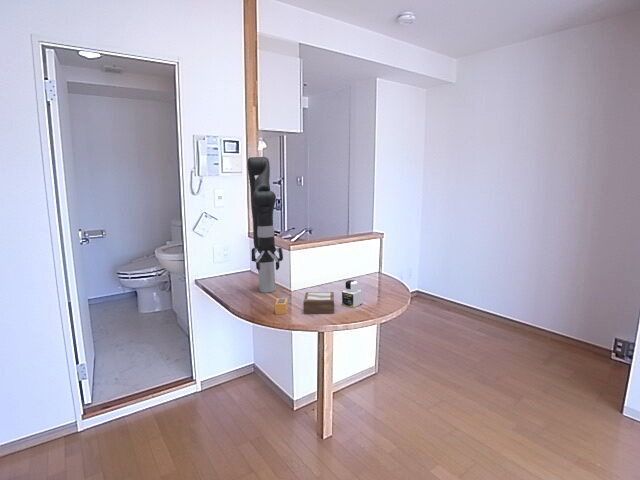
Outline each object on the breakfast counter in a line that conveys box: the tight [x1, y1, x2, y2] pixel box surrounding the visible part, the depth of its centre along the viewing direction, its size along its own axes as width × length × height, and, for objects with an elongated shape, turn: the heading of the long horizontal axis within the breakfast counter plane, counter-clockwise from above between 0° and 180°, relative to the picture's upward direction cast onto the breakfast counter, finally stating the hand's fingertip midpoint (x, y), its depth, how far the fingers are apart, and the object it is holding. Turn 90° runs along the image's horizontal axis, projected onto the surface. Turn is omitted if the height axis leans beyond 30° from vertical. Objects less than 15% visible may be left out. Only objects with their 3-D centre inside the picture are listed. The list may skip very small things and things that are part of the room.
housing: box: [274, 297, 289, 315], centre depth 180 cm, size 9×5×5 cm, turn 178°
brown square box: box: [303, 291, 335, 315], centre depth 181 cm, size 14×14×6 cm
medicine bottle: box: [341, 279, 363, 308], centre depth 185 cm, size 7×7×12 cm
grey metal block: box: [280, 295, 291, 304], centre depth 192 cm, size 4×4×3 cm
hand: (268, 269), depth 174 cm, fingers open, 8 cm apart
